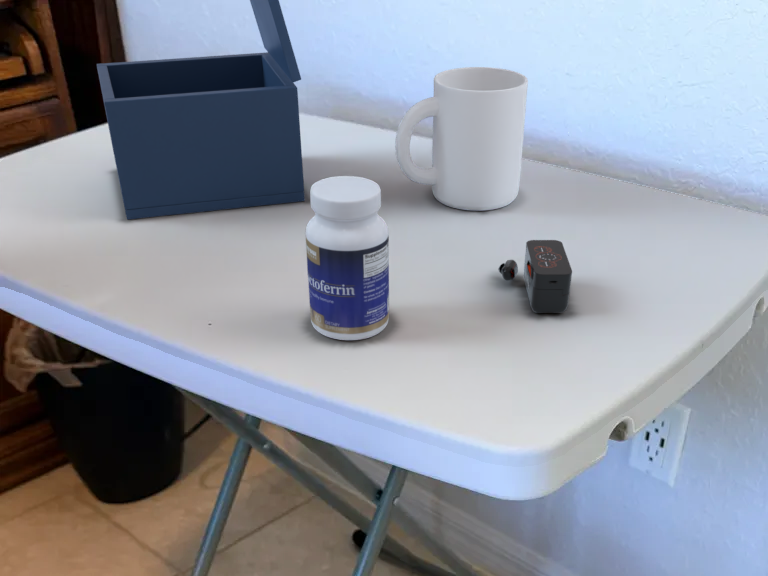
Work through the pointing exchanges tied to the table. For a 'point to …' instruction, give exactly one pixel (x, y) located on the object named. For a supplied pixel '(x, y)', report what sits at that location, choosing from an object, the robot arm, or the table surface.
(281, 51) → the lid
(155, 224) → the table surface
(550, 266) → the wireless earbuds
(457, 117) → the mug
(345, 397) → the table surface
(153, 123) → the dark blue open box
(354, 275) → the pill bottle
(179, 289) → the table surface
